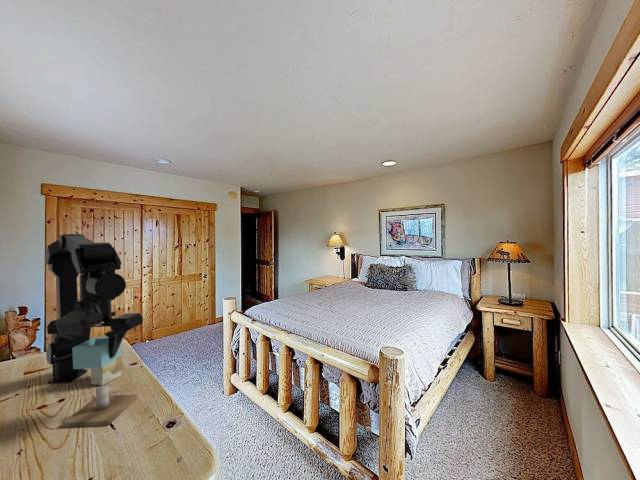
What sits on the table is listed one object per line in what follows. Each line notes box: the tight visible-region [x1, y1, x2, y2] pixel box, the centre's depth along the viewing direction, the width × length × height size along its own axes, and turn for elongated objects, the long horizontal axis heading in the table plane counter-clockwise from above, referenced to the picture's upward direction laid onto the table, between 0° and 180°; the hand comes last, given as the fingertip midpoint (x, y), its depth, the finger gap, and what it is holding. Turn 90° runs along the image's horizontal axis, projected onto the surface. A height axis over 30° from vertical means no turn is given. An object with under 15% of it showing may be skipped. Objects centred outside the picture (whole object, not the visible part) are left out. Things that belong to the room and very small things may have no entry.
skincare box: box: [90, 355, 123, 386], centre depth 79 cm, size 6×4×12 cm
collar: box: [72, 336, 122, 370], centre depth 65 cm, size 6×6×5 cm
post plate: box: [62, 384, 138, 428], centre depth 65 cm, size 10×10×6 cm
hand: (98, 357), depth 65 cm, fingers closed on collar, 6 cm apart
